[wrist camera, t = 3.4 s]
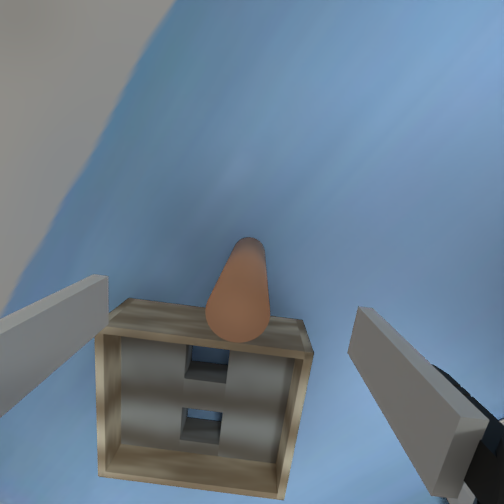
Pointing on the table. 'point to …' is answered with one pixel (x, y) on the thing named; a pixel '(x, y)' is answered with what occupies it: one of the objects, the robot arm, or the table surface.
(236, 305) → the peg
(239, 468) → the box
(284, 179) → the table surface
